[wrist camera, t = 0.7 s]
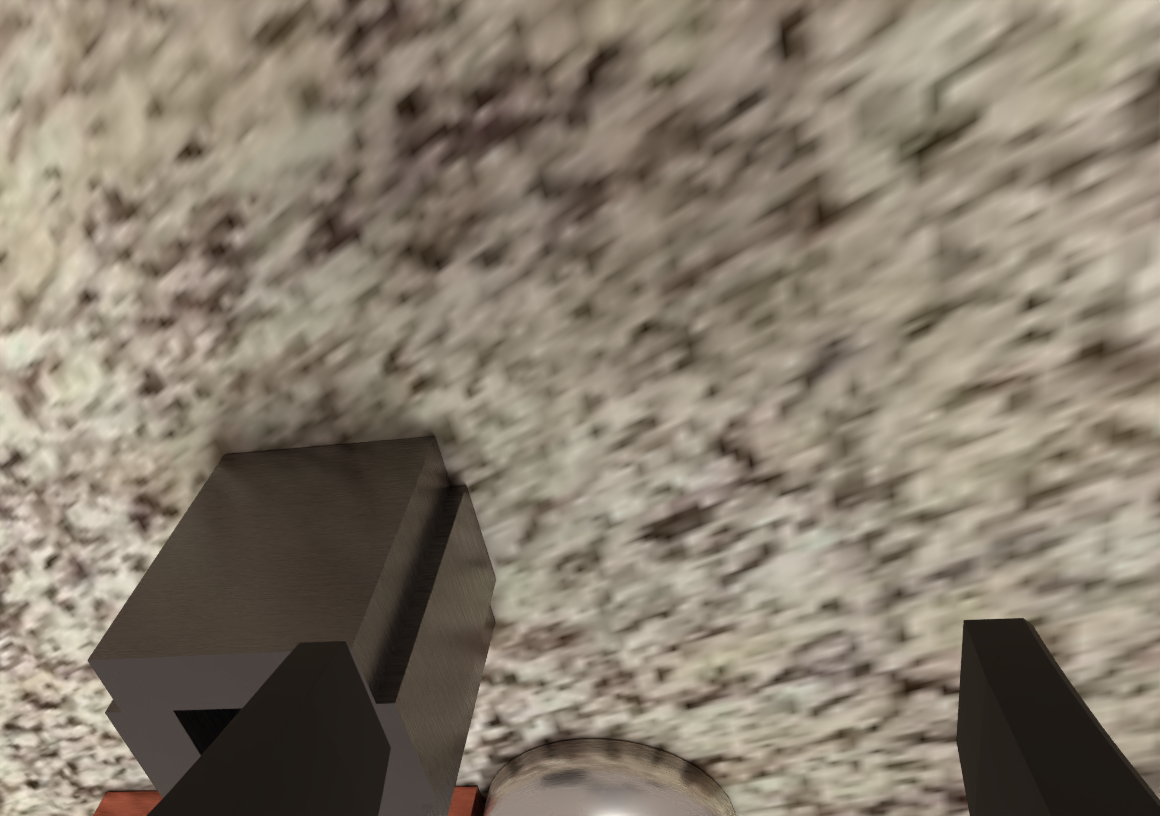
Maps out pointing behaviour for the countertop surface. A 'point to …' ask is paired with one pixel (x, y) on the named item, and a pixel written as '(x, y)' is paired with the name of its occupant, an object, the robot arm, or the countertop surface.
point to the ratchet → (559, 785)
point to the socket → (311, 608)
